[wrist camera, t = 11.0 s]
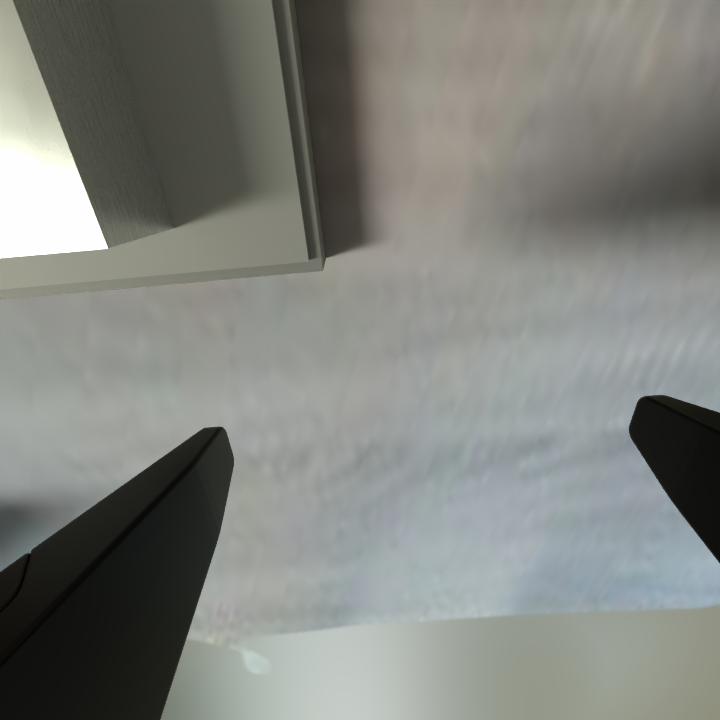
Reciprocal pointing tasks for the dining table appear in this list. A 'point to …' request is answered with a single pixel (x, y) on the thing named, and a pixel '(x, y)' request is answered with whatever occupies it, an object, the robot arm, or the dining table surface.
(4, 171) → the block
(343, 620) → the dining table surface
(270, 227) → the stand
